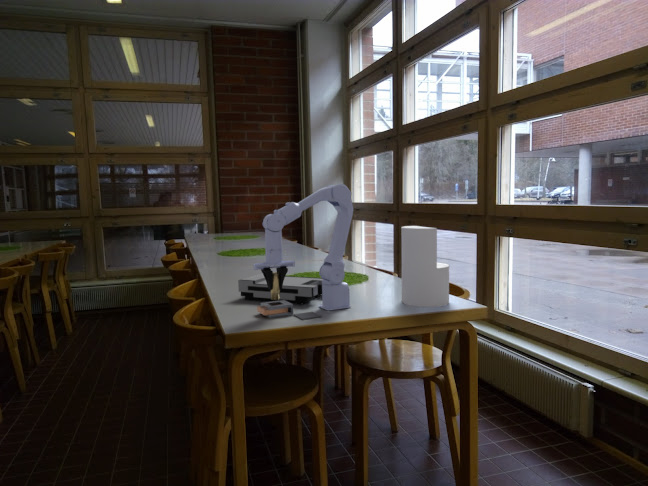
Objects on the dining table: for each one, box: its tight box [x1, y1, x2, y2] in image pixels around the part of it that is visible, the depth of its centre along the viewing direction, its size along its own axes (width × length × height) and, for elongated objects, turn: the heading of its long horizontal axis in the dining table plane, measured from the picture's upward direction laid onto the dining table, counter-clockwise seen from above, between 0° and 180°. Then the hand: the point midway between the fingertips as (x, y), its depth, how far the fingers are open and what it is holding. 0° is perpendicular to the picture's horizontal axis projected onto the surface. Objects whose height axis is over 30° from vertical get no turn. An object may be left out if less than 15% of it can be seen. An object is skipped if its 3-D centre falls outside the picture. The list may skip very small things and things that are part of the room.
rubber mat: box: [293, 311, 322, 321], centre depth 154 cm, size 7×7×1 cm
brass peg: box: [271, 271, 280, 300], centre depth 157 cm, size 3×3×9 cm
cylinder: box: [400, 225, 450, 308], centre depth 171 cm, size 17×17×28 cm
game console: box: [237, 272, 323, 305], centre depth 184 cm, size 21×32×8 cm, turn 66°
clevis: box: [256, 300, 294, 319], centre depth 157 cm, size 10×8×4 cm
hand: (275, 289), depth 157 cm, fingers closed on brass peg, 3 cm apart
